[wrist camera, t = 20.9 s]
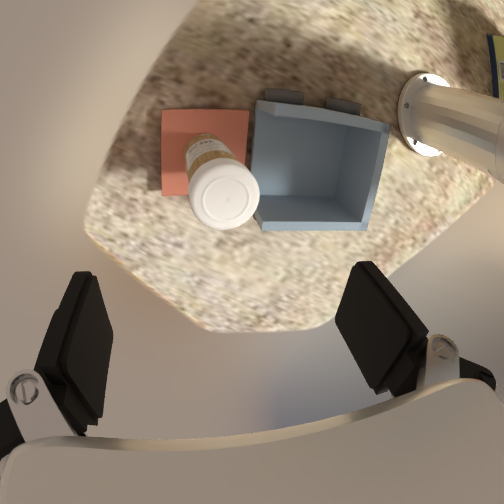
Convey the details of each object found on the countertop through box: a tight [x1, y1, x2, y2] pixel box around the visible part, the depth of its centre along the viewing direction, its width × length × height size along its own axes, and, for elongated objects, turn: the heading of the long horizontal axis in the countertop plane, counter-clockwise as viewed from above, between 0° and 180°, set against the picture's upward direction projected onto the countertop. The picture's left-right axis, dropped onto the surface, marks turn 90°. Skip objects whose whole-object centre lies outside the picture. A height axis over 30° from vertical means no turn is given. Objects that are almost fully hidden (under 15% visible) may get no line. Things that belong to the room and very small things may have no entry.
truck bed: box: [249, 88, 391, 231], centre depth 29 cm, size 12×15×8 cm
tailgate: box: [161, 109, 249, 196], centre depth 29 cm, size 1×9×9 cm
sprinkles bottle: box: [183, 133, 260, 230], centre depth 23 cm, size 5×5×13 cm
